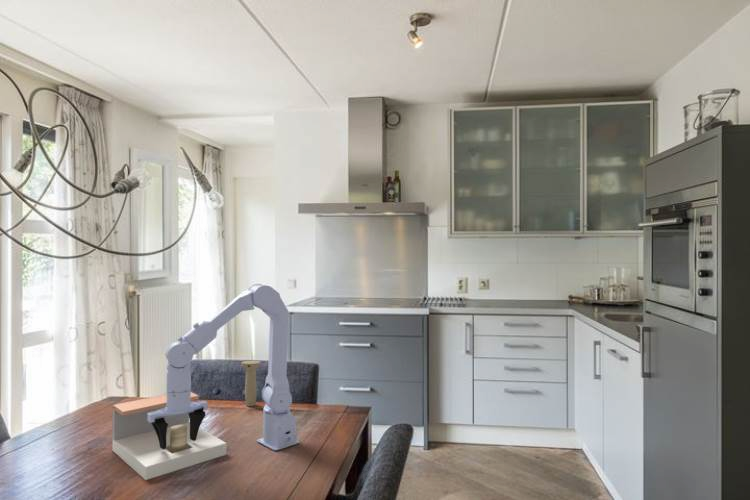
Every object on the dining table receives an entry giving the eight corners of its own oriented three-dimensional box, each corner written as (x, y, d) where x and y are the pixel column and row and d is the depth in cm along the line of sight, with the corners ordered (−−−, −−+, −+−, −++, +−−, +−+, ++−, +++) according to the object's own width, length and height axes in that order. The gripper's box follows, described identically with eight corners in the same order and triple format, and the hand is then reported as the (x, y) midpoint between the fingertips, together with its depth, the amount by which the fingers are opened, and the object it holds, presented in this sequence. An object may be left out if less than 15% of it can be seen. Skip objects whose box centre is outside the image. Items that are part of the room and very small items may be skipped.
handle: (258, 407, 161) (258, 363, 162) (239, 407, 162) (239, 363, 162) (261, 403, 166) (262, 360, 167) (243, 403, 166) (243, 360, 167)
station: (226, 454, 123) (226, 408, 123) (145, 480, 109) (146, 427, 109) (186, 430, 140) (187, 390, 140) (112, 450, 126) (112, 404, 126)
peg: (189, 459, 120) (189, 427, 120) (173, 464, 117) (173, 431, 117) (182, 454, 123) (182, 423, 123) (167, 459, 120) (167, 427, 120)
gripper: (199, 381, 128) (198, 432, 128) (143, 392, 118) (142, 447, 118) (211, 386, 123) (211, 439, 123) (153, 398, 113) (153, 455, 113)
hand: (178, 443), depth 120 cm, fingers open, 7 cm apart
